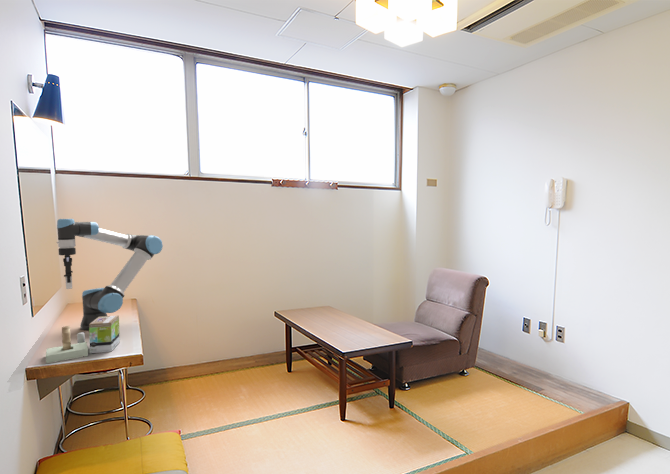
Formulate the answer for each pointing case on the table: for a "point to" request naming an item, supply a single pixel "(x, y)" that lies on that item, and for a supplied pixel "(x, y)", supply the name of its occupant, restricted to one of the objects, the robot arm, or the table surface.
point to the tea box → (104, 334)
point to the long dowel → (66, 338)
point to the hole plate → (66, 352)
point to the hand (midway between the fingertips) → (69, 286)
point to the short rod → (81, 337)
